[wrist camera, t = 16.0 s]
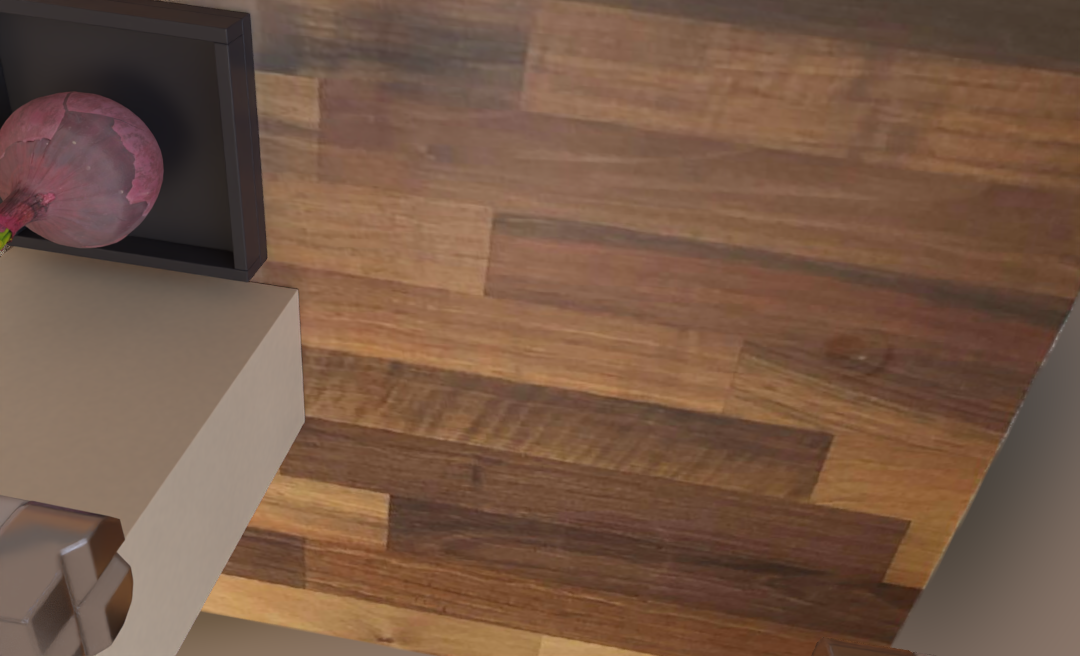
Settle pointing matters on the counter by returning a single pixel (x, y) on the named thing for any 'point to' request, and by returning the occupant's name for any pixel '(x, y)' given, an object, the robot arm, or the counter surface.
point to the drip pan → (156, 118)
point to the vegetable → (77, 170)
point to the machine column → (147, 415)
